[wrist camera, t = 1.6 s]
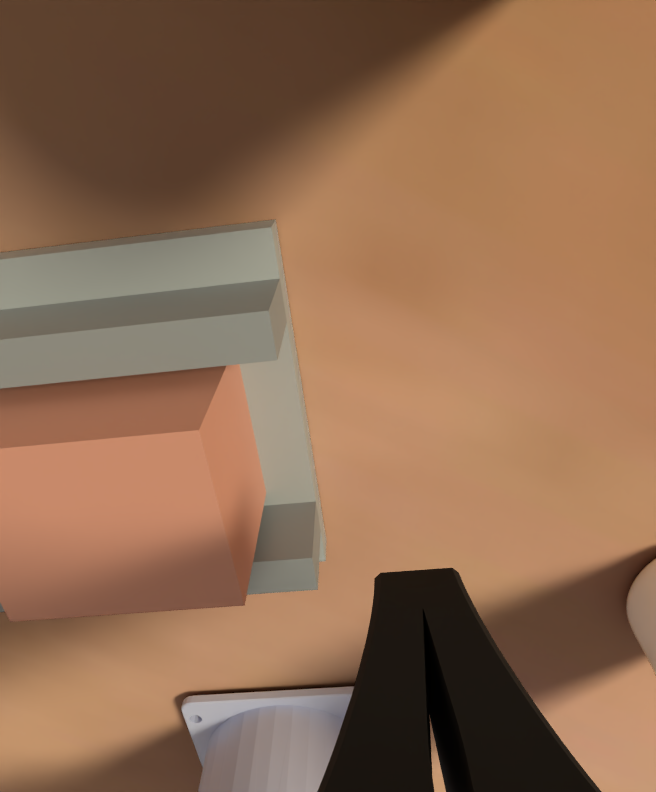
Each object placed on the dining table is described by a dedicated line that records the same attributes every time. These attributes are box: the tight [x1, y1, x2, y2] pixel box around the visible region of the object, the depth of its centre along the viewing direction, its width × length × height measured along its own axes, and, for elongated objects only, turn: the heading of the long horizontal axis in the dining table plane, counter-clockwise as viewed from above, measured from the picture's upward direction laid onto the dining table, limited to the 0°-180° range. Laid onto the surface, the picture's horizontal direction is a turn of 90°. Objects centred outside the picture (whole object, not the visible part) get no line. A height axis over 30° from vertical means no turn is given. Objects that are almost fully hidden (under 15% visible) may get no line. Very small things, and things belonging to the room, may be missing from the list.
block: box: [0, 364, 266, 622], centre depth 15 cm, size 5×6×4 cm
